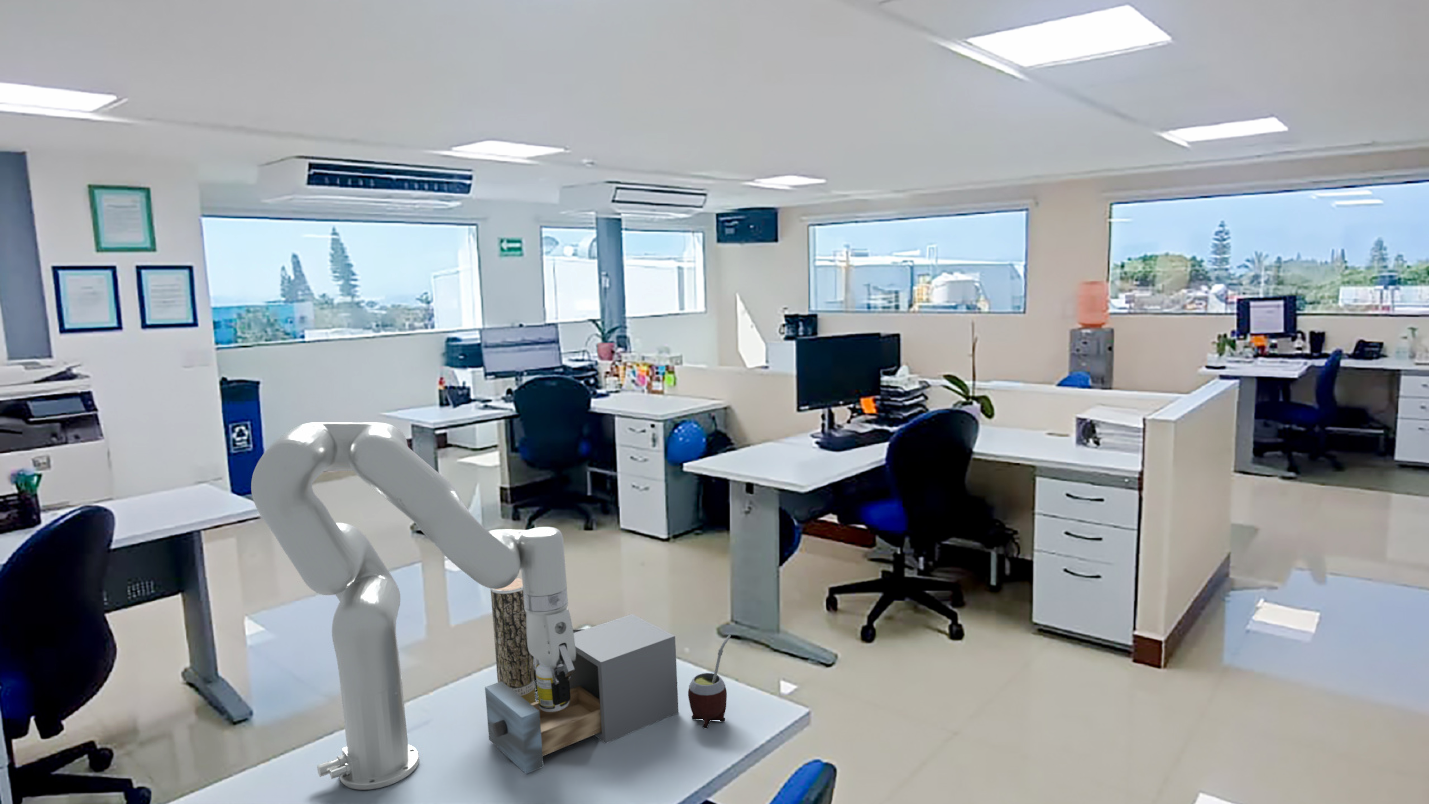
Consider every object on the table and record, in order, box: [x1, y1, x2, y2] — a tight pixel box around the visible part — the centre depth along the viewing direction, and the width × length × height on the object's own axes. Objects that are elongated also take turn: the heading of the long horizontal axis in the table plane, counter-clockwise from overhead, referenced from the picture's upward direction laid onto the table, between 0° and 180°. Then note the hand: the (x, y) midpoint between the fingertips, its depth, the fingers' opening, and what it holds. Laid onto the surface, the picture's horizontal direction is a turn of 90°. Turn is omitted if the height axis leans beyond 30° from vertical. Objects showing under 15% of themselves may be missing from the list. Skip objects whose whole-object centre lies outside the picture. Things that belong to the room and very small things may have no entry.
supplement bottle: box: [536, 660, 569, 712], centre depth 151 cm, size 5×5×10 cm
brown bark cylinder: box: [490, 577, 537, 704], centre depth 163 cm, size 7×7×25 cm
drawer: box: [484, 681, 602, 775], centre depth 151 cm, size 19×14×10 cm
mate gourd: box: [687, 633, 732, 729], centre depth 157 cm, size 8×8×15 cm
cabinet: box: [569, 613, 679, 744], centre depth 161 cm, size 16×14×15 cm
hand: (553, 695), depth 152 cm, fingers closed on supplement bottle, 5 cm apart
